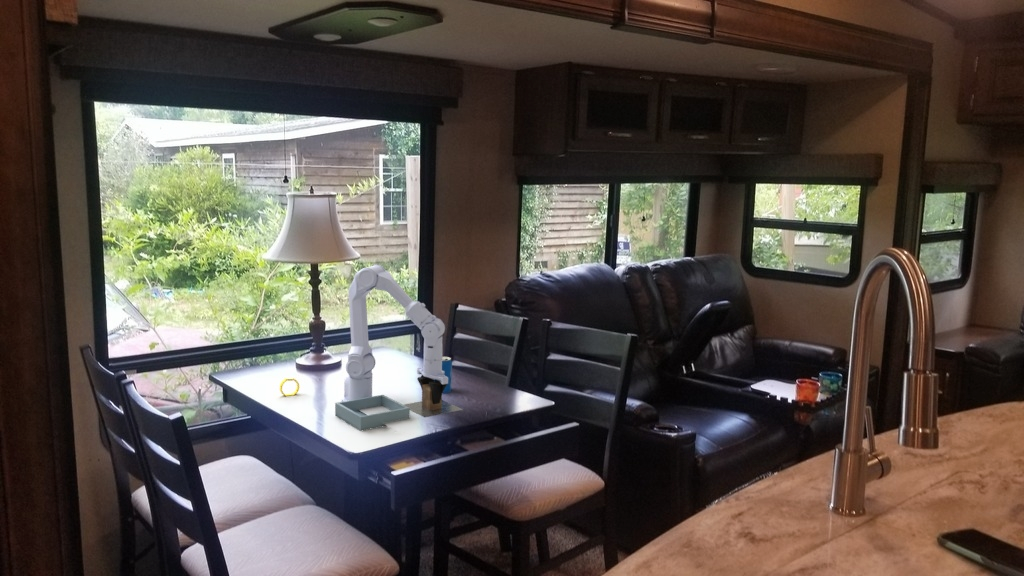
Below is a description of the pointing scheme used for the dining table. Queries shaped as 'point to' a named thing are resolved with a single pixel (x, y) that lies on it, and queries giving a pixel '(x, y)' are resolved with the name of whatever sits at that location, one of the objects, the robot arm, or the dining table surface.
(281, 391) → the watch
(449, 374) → the beverage can
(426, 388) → the brown wooden block
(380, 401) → the bin
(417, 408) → the stud base
